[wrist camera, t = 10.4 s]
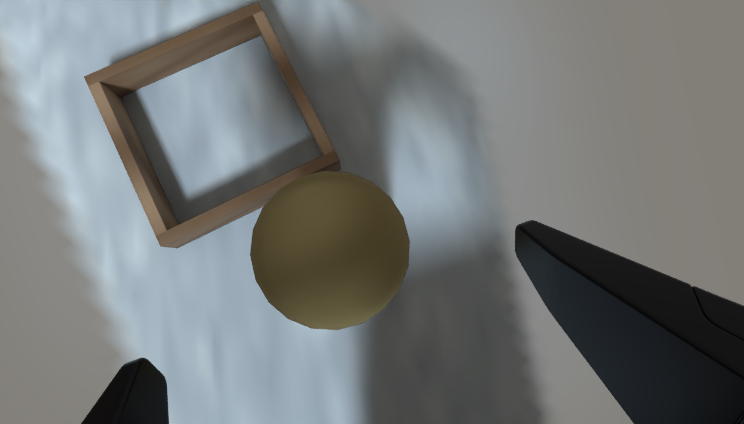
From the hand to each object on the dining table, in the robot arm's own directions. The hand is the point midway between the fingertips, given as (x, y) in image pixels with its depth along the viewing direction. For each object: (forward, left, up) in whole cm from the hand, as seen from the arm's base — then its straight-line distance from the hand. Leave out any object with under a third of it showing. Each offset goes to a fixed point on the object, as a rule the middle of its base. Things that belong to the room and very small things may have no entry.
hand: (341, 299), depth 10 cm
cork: (+1, +1, -13) cm, 13 cm away
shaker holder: (+7, +9, -14) cm, 18 cm away
